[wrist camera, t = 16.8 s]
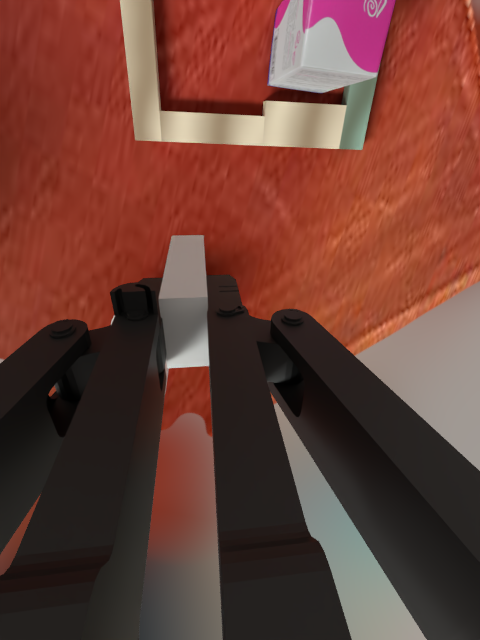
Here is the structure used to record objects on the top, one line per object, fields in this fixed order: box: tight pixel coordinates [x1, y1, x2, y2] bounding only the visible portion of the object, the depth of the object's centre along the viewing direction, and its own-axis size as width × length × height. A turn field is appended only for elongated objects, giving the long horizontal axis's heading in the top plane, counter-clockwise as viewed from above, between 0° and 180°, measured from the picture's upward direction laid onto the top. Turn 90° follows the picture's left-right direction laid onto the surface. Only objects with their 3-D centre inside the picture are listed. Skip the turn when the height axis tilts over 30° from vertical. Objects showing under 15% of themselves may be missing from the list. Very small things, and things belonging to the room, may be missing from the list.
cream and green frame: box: [120, 0, 380, 150], centre depth 29 cm, size 23×15×2 cm, turn 88°
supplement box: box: [268, 0, 396, 93], centre depth 25 cm, size 6×6×12 cm
